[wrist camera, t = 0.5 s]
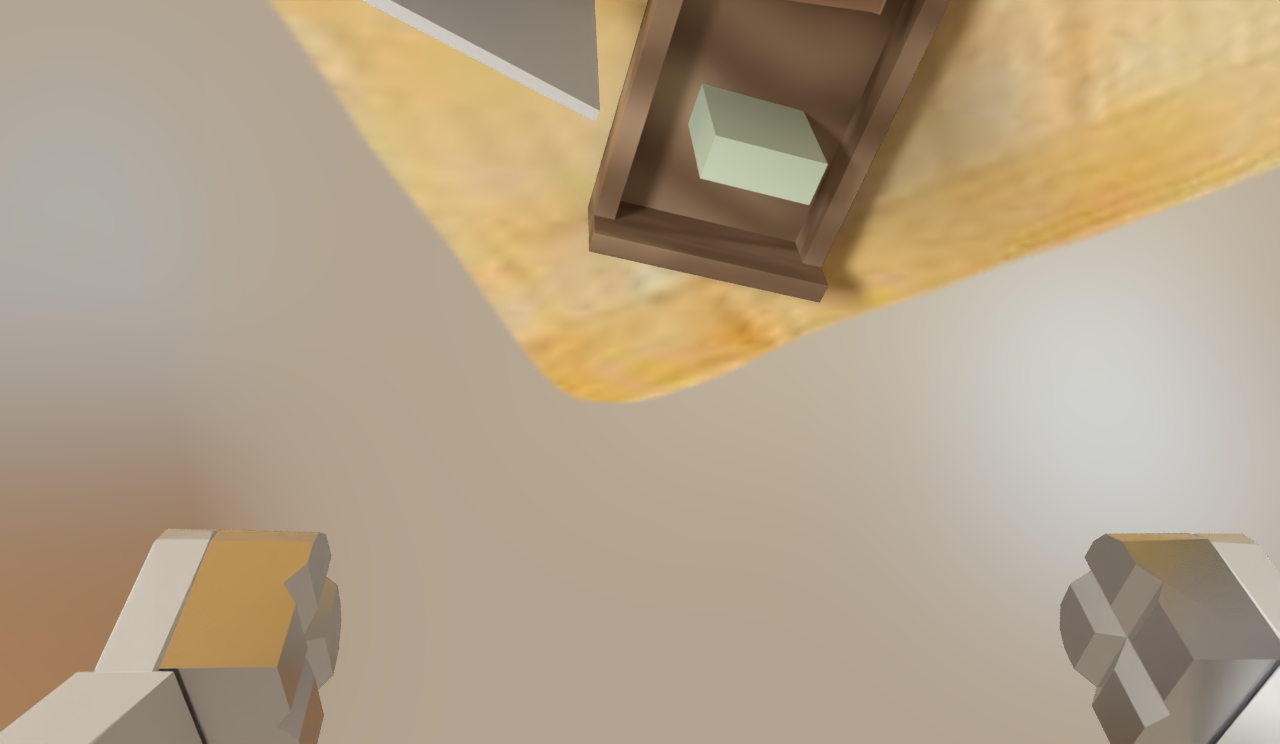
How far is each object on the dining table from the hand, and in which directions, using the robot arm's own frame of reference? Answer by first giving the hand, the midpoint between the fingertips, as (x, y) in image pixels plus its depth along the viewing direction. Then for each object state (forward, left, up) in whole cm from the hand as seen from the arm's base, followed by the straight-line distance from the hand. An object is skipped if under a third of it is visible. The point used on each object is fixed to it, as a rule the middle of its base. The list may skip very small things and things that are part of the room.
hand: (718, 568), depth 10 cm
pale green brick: (+11, +11, -43) cm, 46 cm away
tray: (+9, +11, -44) cm, 46 cm away
